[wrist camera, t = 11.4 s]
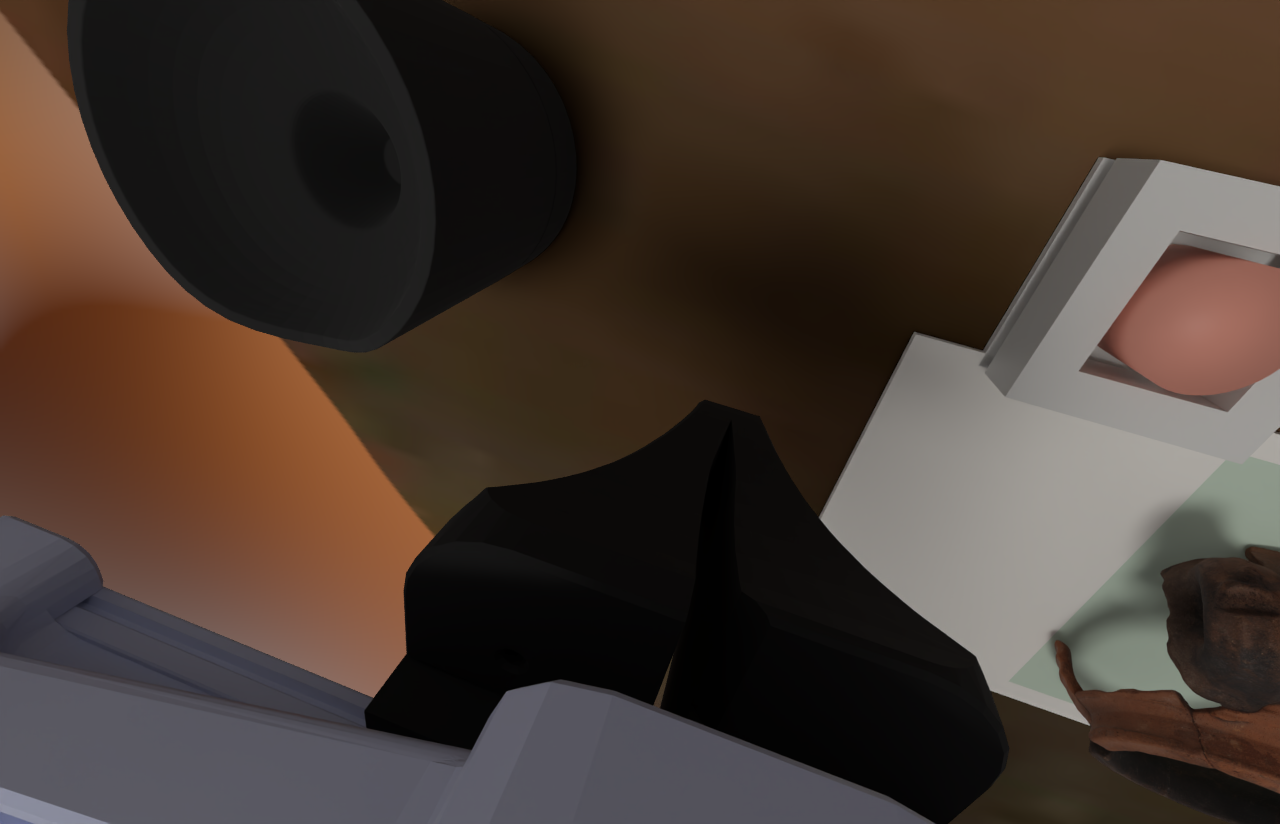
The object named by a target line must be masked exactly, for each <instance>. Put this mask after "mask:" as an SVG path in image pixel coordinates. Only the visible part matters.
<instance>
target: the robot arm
mask: <svg viewBox="0 0 1280 824" xmlns="http://www.w3.org/2000/svg"><path fill="white" fill-rule="evenodd" d="M404 609H405V630H406V651H407V654H406V656H405V657H404V658H403V659H402V661H401V662H400V664H399V665H398V666H397V667H396V669H395V670H394V671H393V673H392V674H391V675H390V677H389V678H388V680H387V681H386V682H385V684H384V685H383V686H382V687H381V689H380V690H379V691H378V693H377V694H376V695H375V697H374V698H372V697H370V696H367V695H365V694H362V693H360V692H358V691H355V690H353V689H350V688H348V687H346V686H343V685H341V684H338V683H336V682H333V681H331V680H328V679H326V678H324V677H321V676H319V675H316V674H314V673H312V672H309V671H307V670H304V669H302V668H299V667H297V666H294V665H292V664H290V663H287V662H285V661H282V660H280V659H278V658H275V657H273V656H270V655H268V654H265V653H263V652H260V651H258V650H255V649H253V648H251V647H249V646H246V645H243V644H241V643H239V642H236V641H234V640H231V639H229V638H227V637H224V636H222V635H219V634H217V633H215V632H212V631H210V630H207V629H205V628H202V627H200V626H198V625H195V624H193V623H190V622H188V621H185V620H183V619H181V618H178V617H176V616H173V615H171V614H168V613H166V612H163V611H161V610H158V609H156V608H154V607H151V606H149V605H146V604H144V603H142V602H139V601H137V600H135V599H132V598H130V597H127V596H125V595H122V594H120V593H117V592H115V591H113V590H110V589H108V588H105V587H103V579H102V576H101V573H100V570H99V568H98V566H97V564H96V562H95V561H94V559H93V558H92V557H91V555H90V554H89V553H88V552H87V551H86V550H85V549H84V548H83V547H81V546H80V545H79V544H77V543H76V542H74V541H72V540H70V539H69V538H66V537H64V536H61V535H59V534H56V533H54V532H51V531H49V530H46V529H44V528H42V527H39V526H37V525H34V524H32V523H29V522H27V521H24V520H22V519H19V518H17V517H13V516H2V517H0V824H948V823H949V822H950V821H952V820H953V819H954V818H955V817H956V816H957V815H959V814H960V813H961V812H962V811H963V810H964V809H966V808H967V807H968V806H969V805H970V804H971V803H973V802H974V801H975V800H976V799H977V798H978V797H980V796H981V795H982V794H983V793H984V792H985V791H986V790H988V789H989V788H990V787H991V786H992V784H993V783H994V782H995V781H996V779H997V778H998V777H999V776H1000V774H1001V773H1002V772H1003V771H1004V769H1005V767H1006V762H1007V757H1008V752H1009V746H1008V742H1007V739H1006V735H1005V732H1004V728H1003V725H1002V722H1001V719H1000V717H999V714H998V711H997V708H996V705H995V703H994V700H993V697H992V694H991V691H990V689H989V686H988V684H987V681H986V679H985V676H984V674H983V671H982V669H981V667H980V664H979V662H978V660H977V658H976V656H975V655H974V654H972V653H971V652H969V651H968V650H967V649H965V648H964V647H963V646H961V645H960V644H959V643H957V642H956V641H955V640H953V639H952V638H950V637H949V636H948V635H946V634H945V633H944V632H942V631H941V630H940V629H938V628H937V627H936V626H934V625H933V624H931V623H930V622H929V621H927V620H926V619H925V618H923V617H922V616H921V615H919V614H918V613H917V612H915V611H914V610H913V609H912V608H910V607H909V606H908V605H907V604H906V603H904V602H903V601H902V600H901V599H900V598H899V597H897V596H896V595H895V594H894V593H893V592H892V591H890V590H889V589H888V588H887V587H886V586H884V585H883V584H882V583H881V582H880V581H879V580H878V579H877V578H876V577H874V576H873V575H872V574H871V573H870V572H869V571H868V570H867V569H866V568H865V567H864V566H863V565H862V564H861V563H860V562H859V561H858V560H857V559H856V558H855V557H854V556H853V555H852V554H851V553H850V552H849V551H848V550H847V549H846V548H845V547H844V546H843V545H842V544H841V543H840V542H839V541H838V540H837V539H836V537H835V536H834V535H833V534H832V533H831V532H830V531H829V530H828V528H827V527H826V526H825V525H824V523H823V522H822V521H821V520H820V518H819V517H818V516H817V515H816V514H815V512H814V511H813V510H812V509H811V507H810V506H809V504H808V503H807V502H806V500H805V499H804V498H803V496H802V495H801V493H800V492H799V490H798V488H797V487H796V485H795V484H794V482H793V481H792V479H791V478H790V476H789V474H788V473H787V471H786V469H785V467H784V466H783V464H782V462H781V460H780V458H779V456H778V454H777V452H776V450H775V448H774V446H773V444H772V442H771V440H770V438H769V436H768V433H767V431H766V429H765V427H764V425H763V422H762V420H761V418H760V416H757V415H753V414H750V413H747V412H744V411H740V410H737V409H734V408H730V407H727V406H724V405H721V404H717V403H714V402H711V401H708V400H704V401H702V402H700V403H699V404H698V405H697V406H696V407H695V409H694V410H693V411H692V412H691V413H690V414H689V415H687V416H686V417H685V418H684V419H683V420H682V421H681V422H679V423H678V424H677V425H675V426H674V427H673V428H672V429H670V430H669V431H668V432H666V433H665V434H664V435H662V436H660V437H659V438H657V439H656V440H654V441H653V442H651V443H650V444H648V445H646V446H645V447H643V448H641V449H639V450H638V451H636V452H634V453H632V454H630V455H628V456H626V457H624V458H622V459H619V460H617V461H615V462H613V463H610V464H607V465H604V466H601V467H598V468H595V469H593V470H590V471H587V472H583V473H579V474H575V475H571V476H567V477H563V478H558V479H553V480H548V481H542V482H536V483H528V484H519V485H509V486H500V487H487V488H485V489H484V490H483V491H482V492H481V493H480V494H479V495H477V496H476V497H475V498H474V499H473V500H472V501H470V502H469V503H468V504H467V505H465V506H464V507H463V508H462V509H461V510H460V511H459V512H458V513H457V514H456V515H455V516H453V517H452V518H451V519H450V520H449V521H448V522H447V524H446V525H445V526H444V527H443V528H442V529H441V530H440V531H439V532H438V534H437V535H436V536H435V537H434V538H433V539H432V540H431V541H430V542H429V544H428V545H427V546H426V547H425V548H424V549H423V550H422V551H421V552H420V554H419V555H418V556H417V557H416V558H415V560H414V562H413V563H412V564H411V566H410V568H409V569H408V571H407V572H406V578H405V585H404ZM673 653H674V655H673ZM672 656H673V659H672V663H671V667H670V671H669V675H668V679H667V683H666V687H665V690H664V694H663V698H662V702H661V706H660V708H658V707H655V706H653V705H654V702H655V700H656V697H657V694H658V692H659V689H660V687H661V684H662V682H663V679H664V676H665V674H666V671H667V669H668V666H669V664H670V661H671V658H672Z"/></svg>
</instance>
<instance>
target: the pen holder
mask: <svg viewBox="0 0 1280 824" xmlns="http://www.w3.org/2000/svg"><path fill="white" fill-rule="evenodd" d="M67 35H68V49H69V61H70V67H71V73H72V79H73V85H74V91H75V95H76V98H77V102H78V106H79V110H80V114H81V118H82V121H83V124H84V127H85V130H86V132H87V135H88V138H89V141H90V144H91V147H92V149H93V152H94V154H95V157H96V159H97V161H98V163H99V166H100V168H101V170H102V173H103V175H104V177H105V179H106V181H107V183H108V185H109V187H110V189H111V190H112V192H113V194H114V196H115V198H116V200H117V202H118V204H119V205H120V207H121V208H122V210H123V212H124V214H125V215H126V217H127V219H128V220H129V221H130V223H131V225H132V227H133V228H134V229H135V231H136V232H137V234H138V235H139V237H140V238H141V239H142V241H143V242H144V244H145V245H146V247H147V248H148V249H149V251H150V252H151V253H152V254H153V255H154V257H155V258H156V259H157V260H158V262H159V263H160V264H161V265H162V266H163V268H164V269H165V270H166V271H167V272H168V273H169V274H170V275H171V276H172V277H173V278H174V279H175V280H176V281H177V282H178V283H179V284H180V285H181V286H182V287H183V288H184V289H185V290H186V291H187V292H188V293H190V294H191V295H192V296H194V297H195V298H196V299H197V300H198V301H200V302H201V303H202V304H203V305H205V306H206V307H208V308H209V309H211V310H213V311H215V312H216V313H218V314H220V315H221V316H223V317H225V318H227V319H229V320H230V321H233V322H235V323H238V324H240V325H243V326H246V327H248V328H251V329H253V330H256V331H259V332H263V333H267V334H270V335H274V336H277V337H280V338H285V339H289V340H294V341H298V342H303V343H308V344H313V345H318V346H323V347H328V348H333V349H337V350H342V351H349V352H368V351H372V350H375V349H378V348H380V347H381V346H383V345H385V344H387V343H389V342H390V341H392V340H394V339H396V338H397V337H399V336H401V335H403V334H405V333H406V332H408V331H410V330H412V329H414V328H415V327H417V326H419V325H421V324H422V323H424V322H426V321H428V320H430V319H431V318H433V317H435V316H437V315H438V314H440V313H442V312H444V311H445V310H447V309H449V308H451V307H453V306H454V305H456V304H458V303H460V302H461V301H463V300H465V299H467V298H469V297H470V296H472V295H474V294H476V293H477V292H479V291H481V290H483V289H485V288H486V287H488V286H490V285H492V284H493V283H495V282H497V281H499V280H500V279H502V278H504V277H505V276H507V275H509V274H510V273H512V272H513V271H515V270H517V269H518V268H520V267H522V266H523V265H525V264H527V263H528V262H530V261H532V260H533V259H534V258H536V257H537V256H538V255H539V254H541V253H542V252H543V251H544V250H545V249H546V248H547V247H548V246H549V245H550V244H551V243H552V241H553V240H554V239H555V238H556V236H557V235H558V233H559V232H560V230H561V229H562V227H563V224H564V222H565V220H566V218H567V216H568V213H569V210H570V207H571V204H572V201H573V196H574V191H575V185H576V172H577V166H576V150H575V143H574V136H573V132H572V128H571V124H570V120H569V117H568V115H567V112H566V109H565V106H564V104H563V101H562V99H561V97H560V95H559V94H558V92H557V90H556V88H555V86H554V84H553V83H552V81H551V80H550V78H549V77H548V75H547V73H546V72H545V71H544V69H543V68H542V67H541V66H540V65H539V63H538V62H537V61H536V60H535V59H534V57H533V56H532V55H530V54H529V53H528V52H527V51H526V50H525V49H524V48H523V47H522V46H521V45H520V44H518V43H517V42H516V41H514V40H513V39H511V38H510V37H509V36H507V35H506V34H504V33H503V32H501V31H499V30H497V29H495V28H494V27H492V26H490V25H488V24H486V23H484V22H482V21H480V20H478V19H476V18H475V17H473V16H471V15H470V14H468V13H466V12H464V11H462V10H460V9H458V8H456V7H454V6H452V5H450V4H448V3H446V2H444V1H442V0H69V2H68V25H67Z"/></svg>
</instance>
